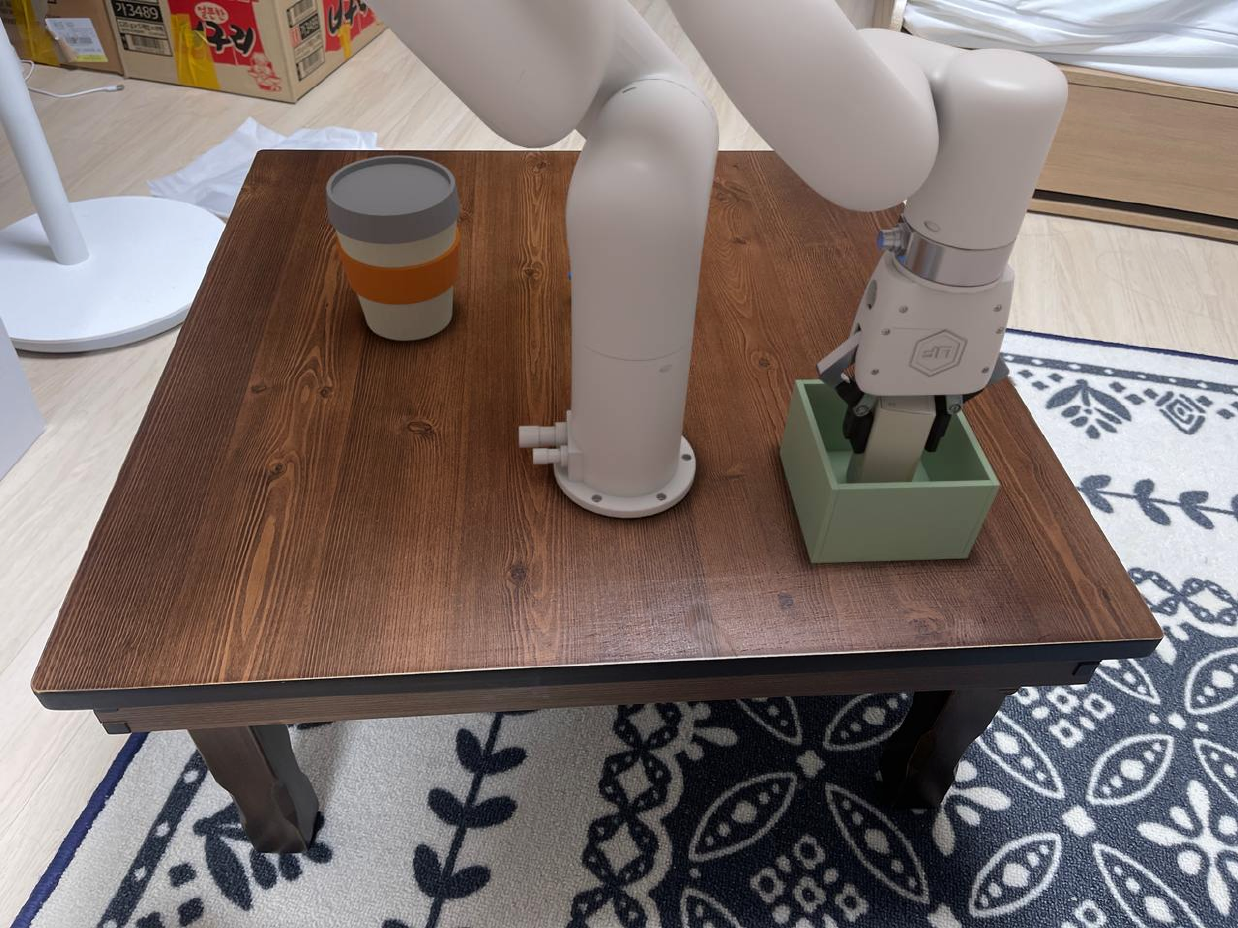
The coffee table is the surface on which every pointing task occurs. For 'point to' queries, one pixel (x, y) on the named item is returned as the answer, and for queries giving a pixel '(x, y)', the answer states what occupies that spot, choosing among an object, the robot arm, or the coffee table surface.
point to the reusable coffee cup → (398, 241)
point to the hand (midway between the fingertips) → (890, 440)
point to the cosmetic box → (894, 440)
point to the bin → (881, 489)
